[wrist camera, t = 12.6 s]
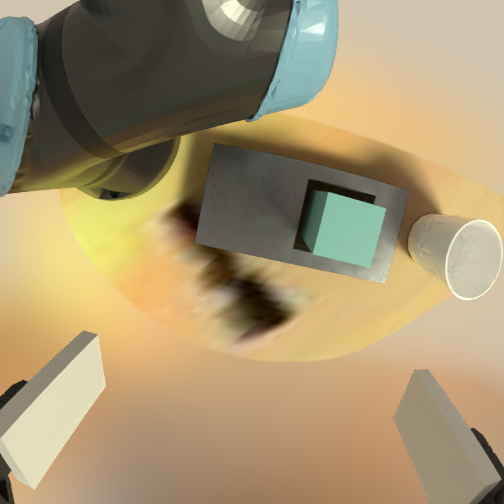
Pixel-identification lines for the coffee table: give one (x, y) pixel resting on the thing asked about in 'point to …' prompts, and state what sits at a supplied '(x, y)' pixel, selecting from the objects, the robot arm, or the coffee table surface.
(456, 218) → the white cup
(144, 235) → the coffee table surface
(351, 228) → the teal block
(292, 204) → the grey slotted board
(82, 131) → the robot arm
